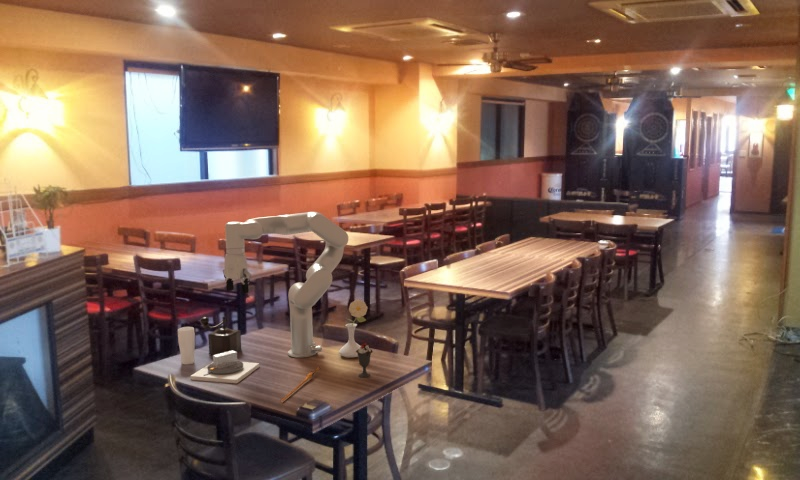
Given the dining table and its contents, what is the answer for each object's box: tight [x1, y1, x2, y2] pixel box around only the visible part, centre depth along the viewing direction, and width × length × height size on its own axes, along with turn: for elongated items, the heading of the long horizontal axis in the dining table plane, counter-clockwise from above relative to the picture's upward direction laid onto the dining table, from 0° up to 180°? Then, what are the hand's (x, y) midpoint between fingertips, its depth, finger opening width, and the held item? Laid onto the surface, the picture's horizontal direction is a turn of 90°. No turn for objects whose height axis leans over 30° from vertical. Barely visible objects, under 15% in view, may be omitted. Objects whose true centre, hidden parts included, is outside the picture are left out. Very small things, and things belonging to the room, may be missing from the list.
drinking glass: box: [177, 326, 196, 366], centre depth 289 cm, size 7×7×15 cm
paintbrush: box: [280, 366, 321, 403], centre depth 261 cm, size 1×35×3 cm, turn 164°
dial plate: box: [190, 361, 260, 384], centre depth 277 cm, size 20×20×2 cm
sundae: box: [356, 339, 373, 378], centre depth 271 cm, size 7×7×15 cm
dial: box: [208, 350, 243, 374], centre depth 277 cm, size 14×14×6 cm
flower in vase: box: [338, 299, 369, 359], centre depth 296 cm, size 13×11×25 cm
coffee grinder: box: [199, 316, 242, 356], centre depth 300 cm, size 16×11×18 cm
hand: (237, 291), depth 287 cm, fingers open, 9 cm apart
